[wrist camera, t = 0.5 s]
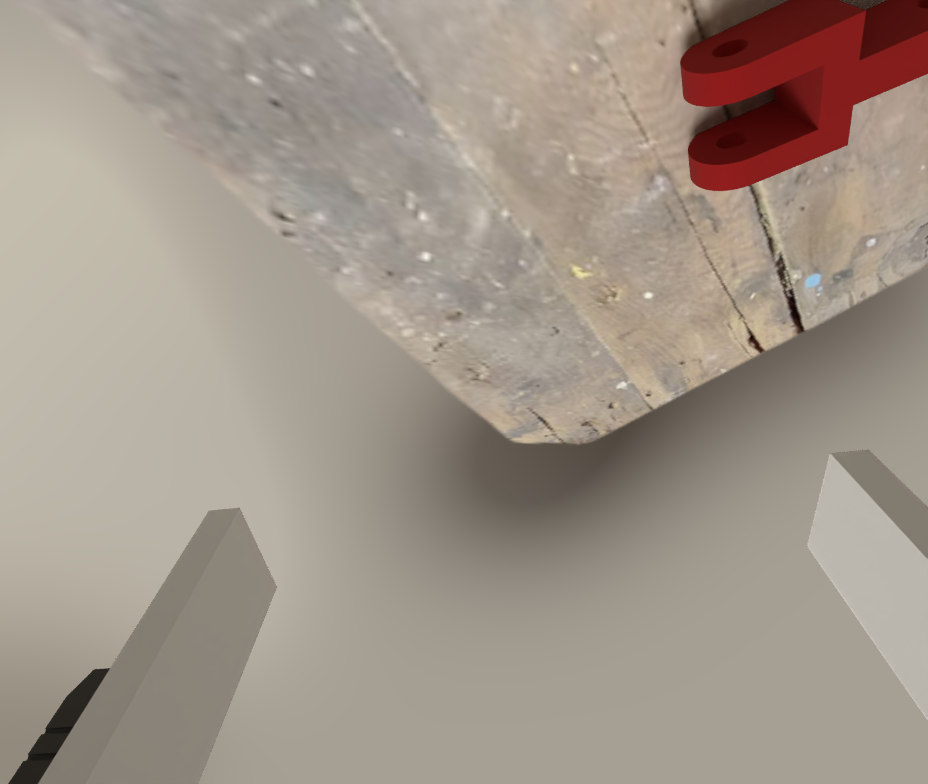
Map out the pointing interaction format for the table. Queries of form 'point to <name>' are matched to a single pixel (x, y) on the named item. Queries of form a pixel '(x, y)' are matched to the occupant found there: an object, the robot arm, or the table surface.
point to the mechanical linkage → (796, 82)
